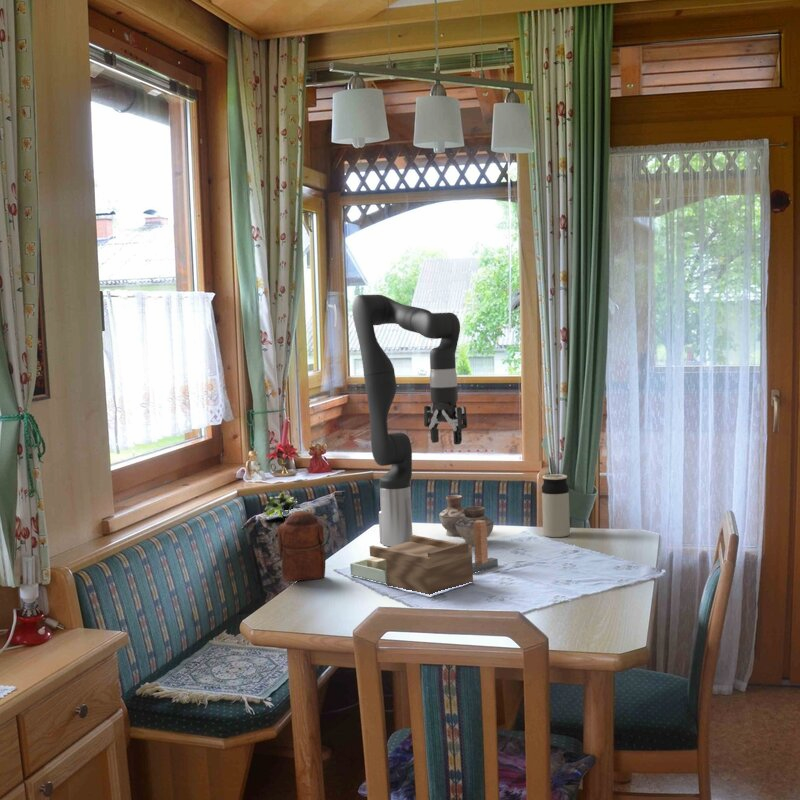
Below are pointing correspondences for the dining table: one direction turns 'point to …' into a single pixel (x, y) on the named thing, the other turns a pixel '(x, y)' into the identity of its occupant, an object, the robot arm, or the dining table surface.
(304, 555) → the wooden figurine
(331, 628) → the dining table surface
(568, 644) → the dining table surface
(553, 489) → the travel mug
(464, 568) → the wooden box
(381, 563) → the birch block
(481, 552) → the scraper
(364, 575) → the sage green tray
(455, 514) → the pottery
